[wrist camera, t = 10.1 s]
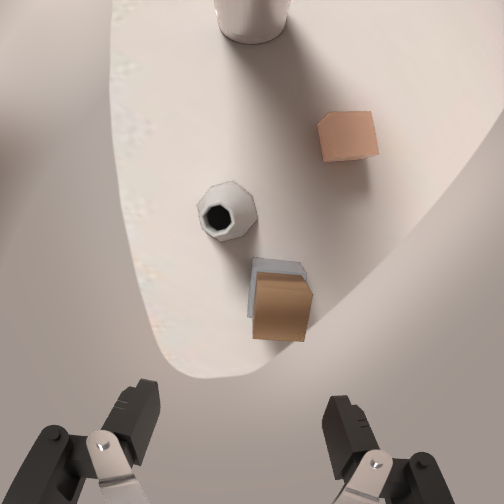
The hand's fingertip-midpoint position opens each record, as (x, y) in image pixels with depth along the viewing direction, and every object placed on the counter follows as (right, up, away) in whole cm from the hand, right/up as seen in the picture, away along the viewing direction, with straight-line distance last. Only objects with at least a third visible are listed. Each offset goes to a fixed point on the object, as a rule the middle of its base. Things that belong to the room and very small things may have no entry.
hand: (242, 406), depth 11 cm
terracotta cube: (+11, +21, +21) cm, 32 cm away
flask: (-3, +12, +23) cm, 26 cm away
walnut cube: (+3, +2, +20) cm, 20 cm away
